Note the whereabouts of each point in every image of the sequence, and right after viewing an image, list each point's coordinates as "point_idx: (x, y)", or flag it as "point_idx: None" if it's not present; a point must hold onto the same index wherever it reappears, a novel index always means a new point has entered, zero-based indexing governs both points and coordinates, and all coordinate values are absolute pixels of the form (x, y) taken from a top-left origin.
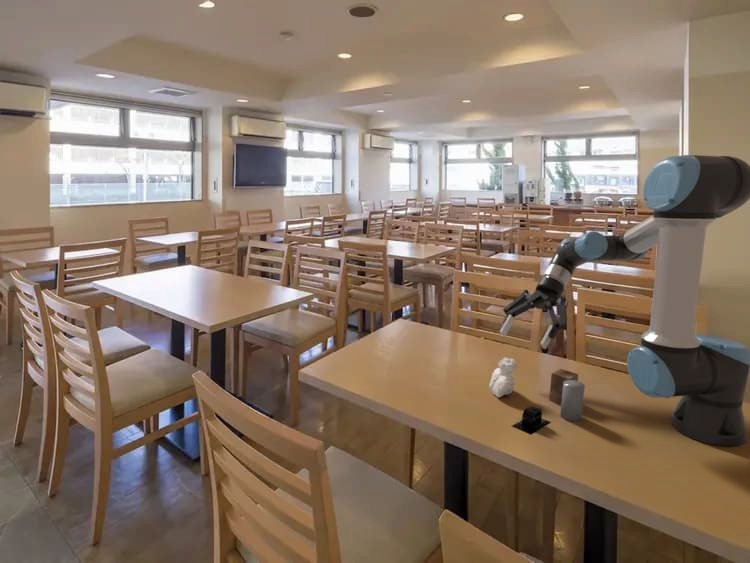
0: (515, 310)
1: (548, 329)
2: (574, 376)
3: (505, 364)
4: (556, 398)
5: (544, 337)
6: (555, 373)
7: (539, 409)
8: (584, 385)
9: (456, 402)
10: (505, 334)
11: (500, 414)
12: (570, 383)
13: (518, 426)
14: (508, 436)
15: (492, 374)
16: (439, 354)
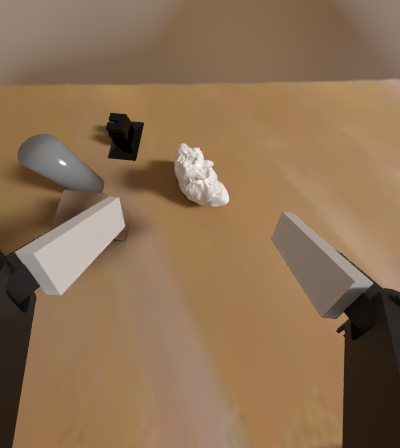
0: (395, 338)
1: (61, 231)
2: (56, 212)
3: (190, 148)
4: None
5: (97, 208)
6: (96, 197)
7: (108, 126)
8: (18, 157)
9: (224, 128)
10: (276, 240)
11: (166, 136)
12: (46, 149)
13: (136, 124)
14: (136, 104)
15: (223, 185)
16: (375, 252)
